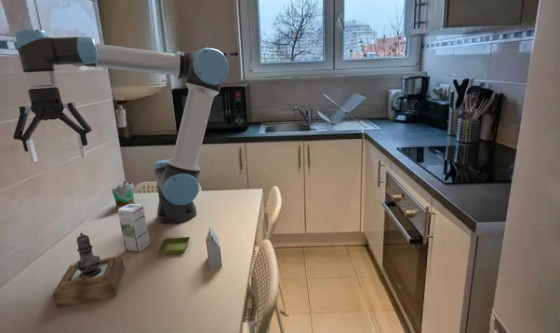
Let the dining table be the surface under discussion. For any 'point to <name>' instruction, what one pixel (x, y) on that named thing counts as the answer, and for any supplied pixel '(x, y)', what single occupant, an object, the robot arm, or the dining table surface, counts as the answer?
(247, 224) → the dining table surface
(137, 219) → the syrup box
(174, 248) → the olive green shallow tray
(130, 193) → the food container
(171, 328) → the dining table surface
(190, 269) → the dining table surface
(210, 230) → the grey upright block
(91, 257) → the salt shaker
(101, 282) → the display pedestal
